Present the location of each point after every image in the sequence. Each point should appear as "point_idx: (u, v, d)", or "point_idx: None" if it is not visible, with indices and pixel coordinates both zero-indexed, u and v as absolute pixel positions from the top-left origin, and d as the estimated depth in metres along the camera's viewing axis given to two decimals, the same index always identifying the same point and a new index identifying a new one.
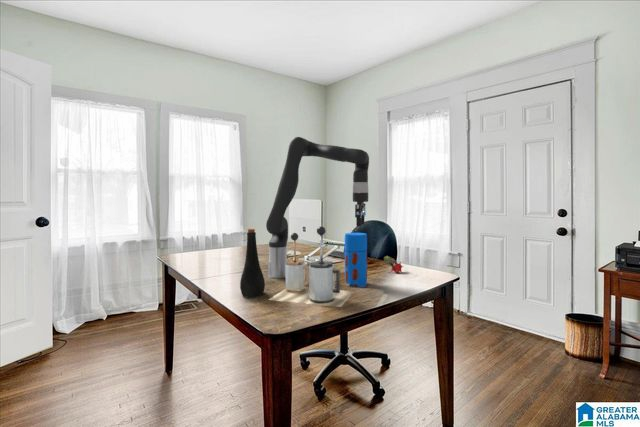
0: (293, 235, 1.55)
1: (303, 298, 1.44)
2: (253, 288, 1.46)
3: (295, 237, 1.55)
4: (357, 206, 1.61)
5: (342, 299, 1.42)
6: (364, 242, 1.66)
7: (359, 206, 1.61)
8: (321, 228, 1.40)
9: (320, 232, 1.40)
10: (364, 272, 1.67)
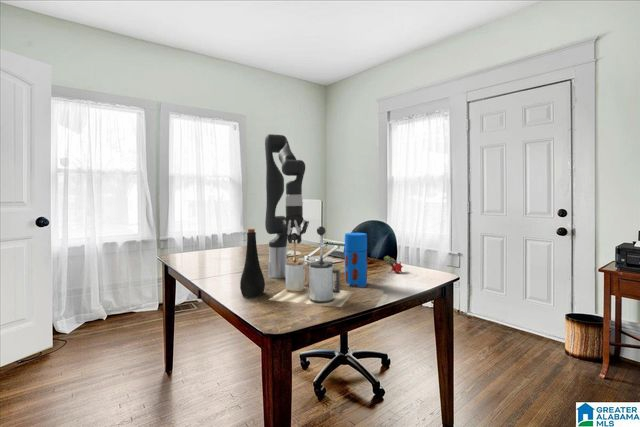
0: (293, 235, 1.55)
1: (303, 298, 1.44)
2: (253, 288, 1.46)
3: (295, 237, 1.55)
4: (307, 223, 1.54)
5: (342, 299, 1.42)
6: (364, 242, 1.66)
7: (308, 223, 1.54)
8: (321, 228, 1.40)
9: (320, 232, 1.40)
10: (364, 272, 1.67)
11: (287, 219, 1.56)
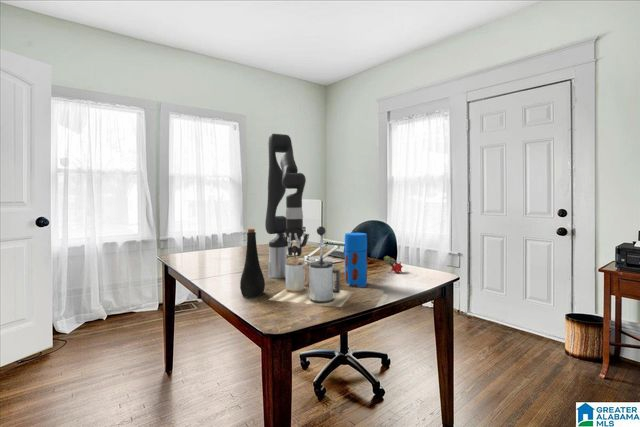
0: (293, 248, 1.55)
1: (303, 298, 1.44)
2: (253, 288, 1.46)
3: (295, 250, 1.55)
4: (307, 236, 1.54)
5: (342, 299, 1.42)
6: (364, 242, 1.66)
7: (308, 236, 1.55)
8: (321, 228, 1.40)
9: (320, 232, 1.40)
10: (364, 272, 1.67)
11: (287, 232, 1.56)
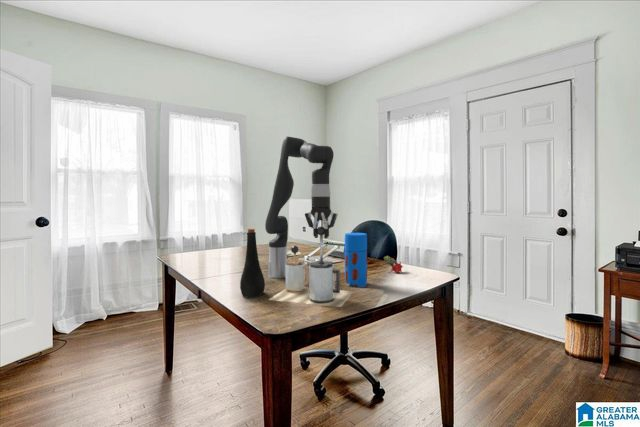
0: (293, 248, 1.55)
1: (303, 298, 1.44)
2: (253, 288, 1.46)
3: (295, 250, 1.55)
4: (336, 216, 1.39)
5: (342, 299, 1.42)
6: (364, 242, 1.66)
7: (336, 216, 1.40)
8: (321, 228, 1.40)
9: (320, 232, 1.40)
10: (364, 272, 1.67)
11: (313, 211, 1.41)
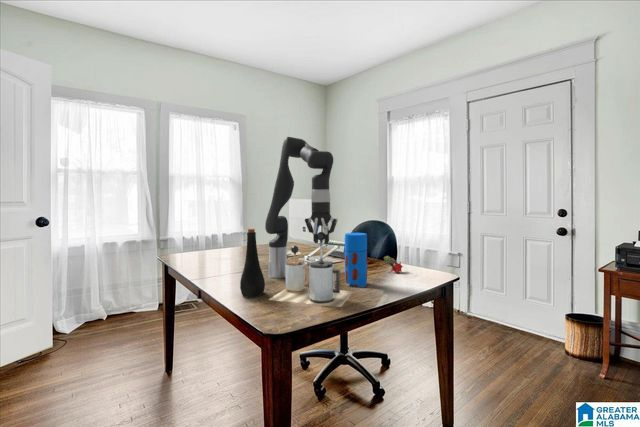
0: (293, 248, 1.55)
1: (303, 298, 1.44)
2: (253, 288, 1.46)
3: (295, 250, 1.55)
4: (336, 221, 1.39)
5: (342, 299, 1.42)
6: (364, 242, 1.66)
7: (336, 221, 1.40)
8: (321, 233, 1.40)
9: (320, 237, 1.40)
10: (364, 272, 1.67)
11: (313, 217, 1.41)
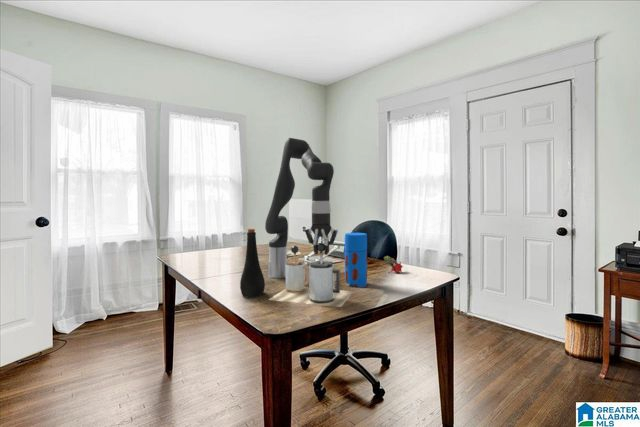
0: (293, 248, 1.55)
1: (303, 298, 1.44)
2: (253, 288, 1.46)
3: (295, 250, 1.55)
4: (336, 232, 1.39)
5: (342, 299, 1.42)
6: (364, 242, 1.66)
7: (336, 232, 1.40)
8: (321, 245, 1.40)
9: (320, 249, 1.40)
10: (364, 272, 1.67)
11: (313, 228, 1.41)
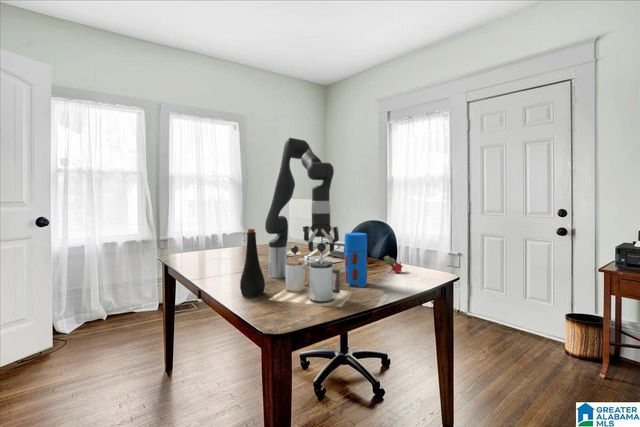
0: (293, 248, 1.55)
1: (303, 298, 1.44)
2: (253, 288, 1.46)
3: (295, 250, 1.55)
4: (337, 229, 1.39)
5: (342, 299, 1.42)
6: (364, 242, 1.66)
7: (337, 228, 1.40)
8: (321, 245, 1.40)
9: (320, 249, 1.40)
10: (364, 272, 1.67)
11: (313, 228, 1.41)
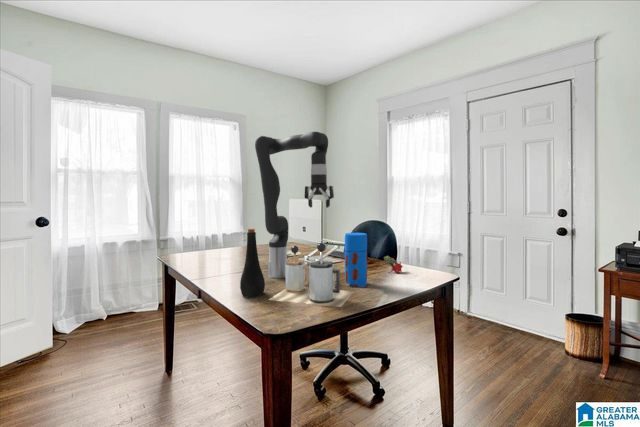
0: (293, 248, 1.55)
1: (303, 298, 1.44)
2: (253, 288, 1.46)
3: (295, 250, 1.55)
4: (332, 187, 1.67)
5: (342, 299, 1.42)
6: (364, 242, 1.66)
7: (332, 187, 1.68)
8: (321, 245, 1.40)
9: (320, 249, 1.40)
10: (364, 272, 1.67)
11: (312, 187, 1.69)
